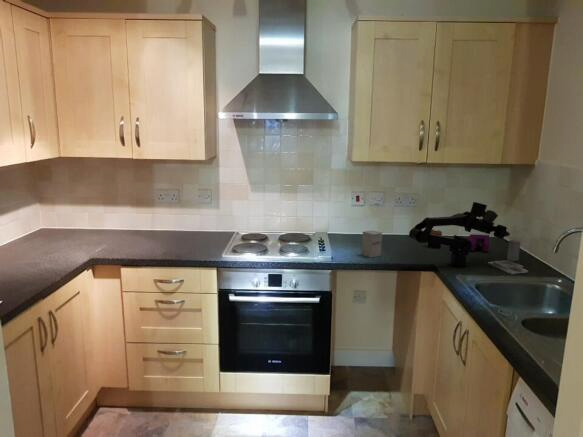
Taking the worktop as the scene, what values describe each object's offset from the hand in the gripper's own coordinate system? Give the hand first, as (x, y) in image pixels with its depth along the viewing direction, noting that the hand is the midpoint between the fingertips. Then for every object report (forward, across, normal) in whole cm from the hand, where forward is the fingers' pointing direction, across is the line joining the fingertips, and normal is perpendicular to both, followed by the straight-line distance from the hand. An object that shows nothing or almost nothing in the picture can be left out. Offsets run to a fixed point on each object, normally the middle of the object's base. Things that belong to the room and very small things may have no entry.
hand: (502, 232), depth 232 cm
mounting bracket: (+9, +25, +14) cm, 30 cm away
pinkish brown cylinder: (-52, +26, +32) cm, 66 cm away
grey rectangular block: (+13, +1, +12) cm, 18 cm away
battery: (-12, +32, +20) cm, 39 cm away
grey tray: (+1, -10, +16) cm, 19 cm away
